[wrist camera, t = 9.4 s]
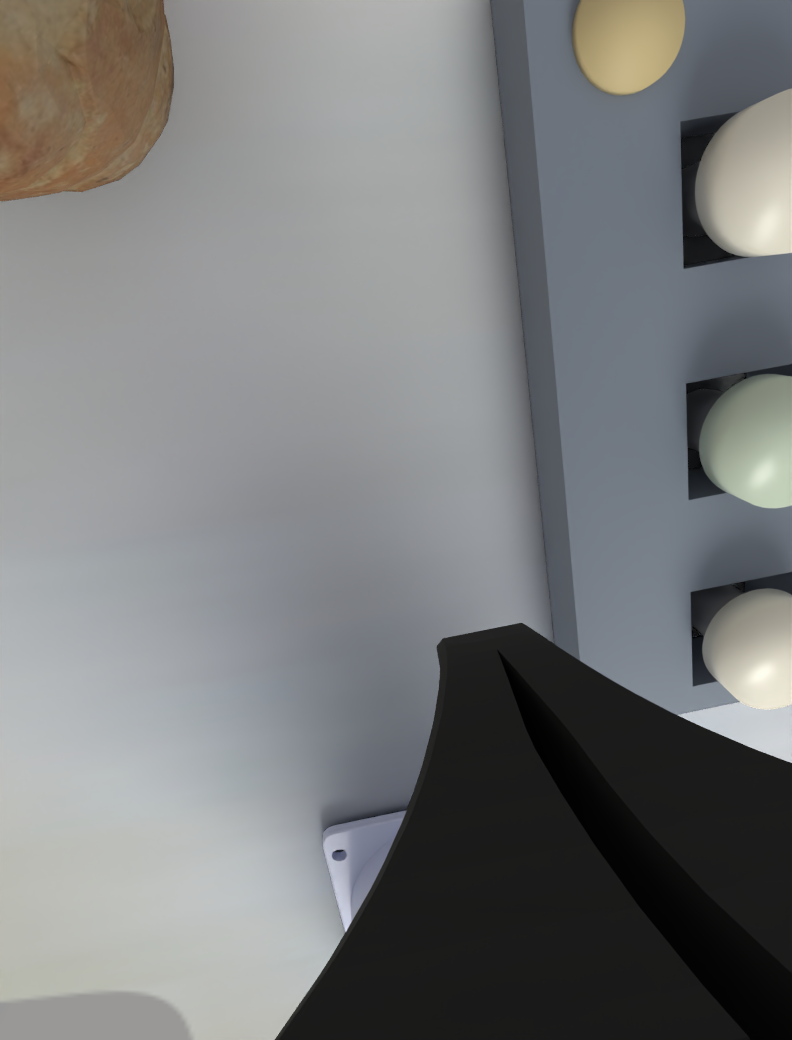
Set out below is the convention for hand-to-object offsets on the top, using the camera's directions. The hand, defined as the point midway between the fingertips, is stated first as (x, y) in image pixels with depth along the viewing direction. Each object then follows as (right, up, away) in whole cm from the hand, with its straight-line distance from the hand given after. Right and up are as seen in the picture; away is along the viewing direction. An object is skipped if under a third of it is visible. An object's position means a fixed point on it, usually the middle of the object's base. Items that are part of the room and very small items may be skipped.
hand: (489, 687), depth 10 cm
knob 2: (+9, 0, +12) cm, 15 cm away
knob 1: (+7, +11, +8) cm, 15 cm away
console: (+7, +7, +9) cm, 14 cm away
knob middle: (+8, +6, +10) cm, 14 cm away
